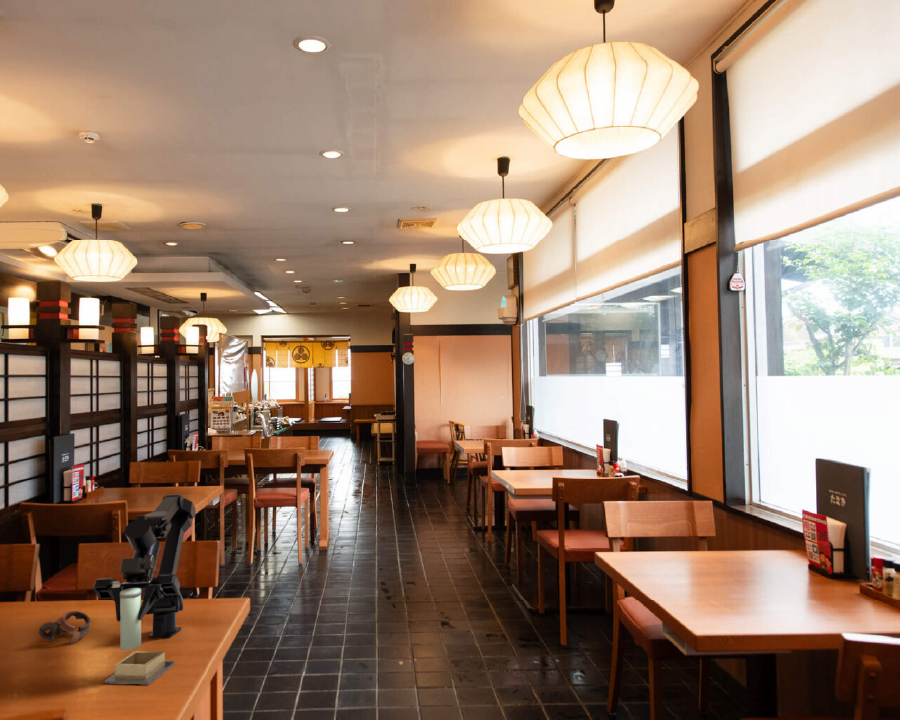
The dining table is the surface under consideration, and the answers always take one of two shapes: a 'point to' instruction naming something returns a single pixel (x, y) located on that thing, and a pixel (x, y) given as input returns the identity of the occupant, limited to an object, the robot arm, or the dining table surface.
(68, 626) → the dark double loop ring
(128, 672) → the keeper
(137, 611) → the pale green cylinder
